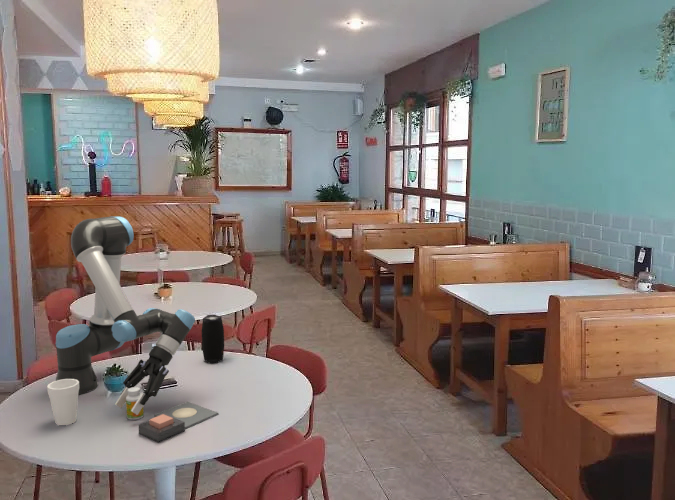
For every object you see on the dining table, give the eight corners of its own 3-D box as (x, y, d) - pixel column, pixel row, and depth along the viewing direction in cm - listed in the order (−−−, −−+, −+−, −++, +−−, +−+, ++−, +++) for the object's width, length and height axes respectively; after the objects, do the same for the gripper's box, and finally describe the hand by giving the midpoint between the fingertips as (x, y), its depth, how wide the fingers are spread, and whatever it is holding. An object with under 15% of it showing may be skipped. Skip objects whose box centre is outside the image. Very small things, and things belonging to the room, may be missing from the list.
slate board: (154, 416, 203) (154, 414, 203) (187, 403, 214) (187, 401, 214) (185, 429, 194) (185, 426, 193) (218, 414, 205) (218, 412, 205)
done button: (149, 425, 190) (149, 419, 190) (163, 419, 194) (163, 414, 194) (159, 430, 187) (159, 423, 187) (173, 424, 191) (173, 418, 191)
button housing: (138, 433, 190) (138, 424, 190) (165, 422, 198) (164, 414, 198) (158, 442, 184) (158, 433, 184) (184, 430, 192) (184, 422, 192)
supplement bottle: (123, 419, 201) (122, 391, 199) (131, 413, 206) (130, 385, 205) (139, 420, 200) (137, 392, 198) (146, 413, 205) (145, 386, 204)
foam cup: (69, 429, 194) (66, 390, 192) (43, 426, 196) (40, 388, 194) (87, 416, 203) (84, 379, 201) (62, 414, 205) (60, 377, 203)
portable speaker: (228, 360, 259) (227, 316, 256) (210, 366, 252) (209, 320, 249) (216, 356, 265) (215, 312, 262) (198, 361, 258) (196, 317, 255)
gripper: (190, 361, 206) (152, 422, 196) (152, 350, 219) (115, 406, 209) (176, 350, 201) (137, 412, 191) (138, 339, 214) (100, 397, 204)
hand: (126, 409), depth 200 cm, fingers open, 8 cm apart
